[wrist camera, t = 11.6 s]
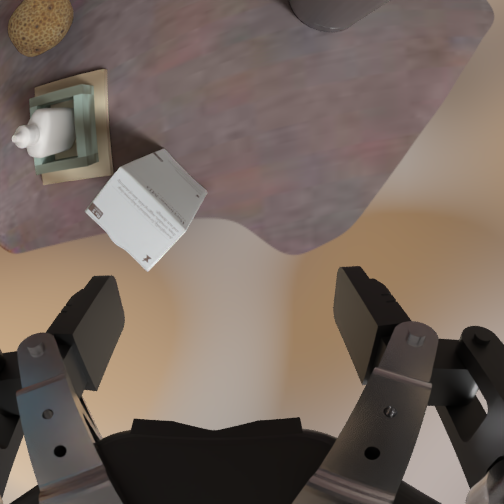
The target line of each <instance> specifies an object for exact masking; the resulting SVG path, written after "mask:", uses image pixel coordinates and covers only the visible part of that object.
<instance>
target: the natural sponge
mask: <svg viewBox="0 0 504 504" xmlns="http://www.w3.org/2000/svg"><path fill="white" fill-rule="evenodd" d="M72 21H73V8H72V6H71V3H70V1H69V0H24V1H23V2H22V3H21V4H20V5H19V6H18V7H17V9H16V10H15V11H14V13H13V14H12V16H11V18H10V20H9V24H8V34H9V37H10V39H11V41H12V43H13V44H14V46H15V47H16V49H17V50H18V51H19V52H20V53H21V54H23V55H25V56H28V57H33V56H37V55H40V54H42V53H44V52H45V51H47V50H49V49H51V48H53V47H54V46H56V45H57V44H58V43H59V42H60V41H61V40H62V39H63V38H64V36H65V35H66V33H67V32H68V30H69V28H70V26H71V24H72Z"/></svg>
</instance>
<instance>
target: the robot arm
mask: <svg viewBox="0 0 504 504" xmlns="http://www.w3.org/2000/svg"><path fill="white" fill-rule="evenodd" d="M389 1H390V0H289V2H290V5H291V8H292V10H293V12H294V14H295V15H296V16H297V17H298V18H299V19H300V20H301V21H302V22H303V23H305V24H306V25H308V26H310V27H311V28H314V29H316V30H319V31H324V32H338V31H342V30H345V29H347V28H349V27H350V26H352V25H353V24H355V23H356V22H358V21H359V20H361V19H362V18H364V17H365V16H367V15H368V14H370V13H371V12H373V11H375V10H376V9H378V8H379V7H381V6H382V5H384V4H386V3H387V2H389ZM333 308H334V318H335V322H336V324H337V326H338V329H339V331H340V333H341V336H342V338H343V340H344V342H345V345H346V347H347V350H348V352H349V354H350V356H351V359H352V361H353V364H354V366H355V369H356V371H357V373H358V376H359V378H360V381H361V383H362V385H366V384H367V385H366V387H365V388H364V390H363V392H362V394H361V396H360V398H359V400H358V402H357V404H356V406H355V408H354V410H353V411H352V413H351V415H350V417H349V419H348V421H347V422H346V425H345V426H344V428H343V429H342V431H341V433H340V435H339V436H338V438H335V437H333V436H331V435H328V434H325V433H322V432H318V431H314V430H309V429H302V426H301V421H300V418H299V417H298V418H287V419H276V420H260V421H255V422H251V423H247V424H243V425H239V426H234V427H230V428H226V429H221V430H207V429H203V428H198V427H194V426H190V425H185V424H182V423H178V422H174V421H159V420H144V419H134V420H133V424H132V428H131V430H129V431H123V432H119V433H116V434H112V435H110V436H107V437H105V438H102V436H101V434H100V433H99V431H98V428H97V426H96V424H95V422H94V420H93V418H92V416H91V414H90V411H89V409H88V407H87V405H86V403H85V400H84V398H83V397H82V393H83V391H84V390H92V391H97V390H98V387H99V385H100V382H101V380H102V377H103V375H104V372H105V370H106V367H107V365H108V363H109V360H110V358H111V355H112V353H113V351H114V348H115V346H116V344H117V342H118V339H119V337H120V335H121V332H122V330H123V327H124V321H125V319H124V318H125V317H124V311H123V307H122V303H121V299H120V296H119V291H118V287H117V283H116V279H115V278H114V276H94V277H92V279H91V280H90V281H89V282H88V284H87V285H86V287H85V288H84V289H81V290H80V291H79V292H77V293H76V294H74V295H73V296H72V297H71V298H70V300H69V301H68V302H67V304H66V306H64V308H63V309H62V311H61V313H59V315H58V316H57V317H56V319H55V320H54V322H53V323H52V324H51V326H50V327H49V329H48V330H47V332H46V333H37V334H34V335H31V336H29V337H27V338H26V339H25V340H24V341H22V342H21V344H20V345H19V347H18V349H17V351H15V352H8V353H2V352H1V350H0V504H3V501H2V497H3V493H4V490H5V487H6V483H7V480H8V477H9V474H10V471H11V468H12V465H13V462H14V459H15V457H16V454H17V451H18V449H19V446H20V443H21V440H22V438H23V435H24V437H25V441H26V445H27V448H28V453H29V456H30V460H31V463H32V467H33V469H34V473H35V476H36V479H37V482H38V485H37V486H35V487H34V488H32V489H31V490H29V491H28V492H26V493H25V494H24V495H22V496H21V497H19V498H17V499H16V500H15V501H13V502H12V503H10V504H441V503H439V502H438V501H436V500H434V499H432V498H431V497H429V496H427V495H425V494H424V493H422V492H420V491H419V490H417V489H415V488H414V487H412V486H410V485H409V484H407V483H406V482H404V481H402V479H403V476H404V474H405V471H406V468H407V466H408V463H409V460H410V458H411V455H412V452H413V449H414V446H415V443H416V440H417V437H418V434H419V431H420V428H421V425H422V421H423V418H424V415H425V411H426V408H427V406H435V407H436V410H437V412H438V414H439V416H440V418H441V420H442V422H443V424H444V427H445V429H446V431H447V434H448V436H449V438H450V440H451V443H452V445H453V447H454V450H455V452H456V454H457V457H458V459H459V461H460V464H461V467H462V469H463V472H464V474H465V477H466V479H467V482H468V485H469V487H470V491H469V493H468V495H467V498H466V504H504V345H503V343H502V342H501V341H500V340H499V338H498V337H497V336H496V335H495V334H494V333H493V332H492V331H490V330H488V329H486V328H483V327H480V326H470V327H467V328H465V329H464V330H463V332H462V334H461V337H460V339H459V340H449V339H438V335H437V333H436V332H435V331H434V330H433V329H432V328H431V327H429V326H427V325H425V324H423V323H420V322H413V321H411V320H410V318H409V317H408V316H407V314H406V313H405V312H404V310H403V309H402V307H401V306H400V305H399V304H398V302H396V300H395V298H394V297H393V296H392V295H391V293H390V292H389V290H388V289H387V288H386V286H385V285H383V284H382V283H380V282H379V281H377V280H376V279H369V277H368V276H367V275H366V273H365V272H364V271H363V269H362V268H361V267H360V266H352V267H340V268H339V269H338V272H337V280H336V289H335V298H334V307H333ZM478 389H480V391H481V393H482V394H483V396H484V398H485V399H486V401H487V405H488V413H487V414H486V412H485V410H484V409H483V407H482V405H481V403H480V402H479V400H478V398H477V397H476V393H477V391H478Z"/></svg>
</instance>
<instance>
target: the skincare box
mask: <svg viewBox="0 0 504 504" xmlns="http://www.w3.org/2000/svg"><path fill="white" fill-rule="evenodd" d="M206 194H207V190H206V189H205V188H203V187H202V186H201V185H200V184H199V183H198V182H196V181H195V180H194V179H193V178H192V177H191V176H190V175H189V174H188V173H187V172H186V171H185V170H184V169H183V168H182V167H181V166H180V165H179V164H178V163H177V162H176V161H175V160H174V159H173V158H172V156H171V155H170V154H169V153H168V152H167V151H166V150H165V149H161V150H159V151H156V152H153V153H151V154H149V155H146V156H144V157H141V158H139V159H137V160H134V161H132V162H130V163H127V164H125V165H123V166H121V167H119V169H118V170H117V171H116V172H115V173H114V175H113V176H112V177H111V178H110V180H109V181H108V182H107V183H106V185H105V186H104V187H103V188H102V190H101V191H100V192H99V193H98V195H97V196H96V197H95V199H94V200H93V201H92V202H91V204H90V205H89V206H88V208H87V209H86V210H85V212H86V213H87V214H88V215H89V216H90V217H91V218H92V219H93V220H94V221H95V222H96V223H97V224H98V225H99V226H100V227H101V228H102V229H103V230H104V231H105V232H107V234H108V235H109V237H110V238H111V240H112V241H113V242H114V243H115V244H116V245H117V246H119V247H121V248H123V249H124V250H126V251H127V252H128V253H129V254H130V255H131V256H132V257H133V258H134V259H135V260H136V261H137V262H138V263H139V264H140V265H141V266H142V267H143V268H144V269H145V270H146V271H149V270H150V269H151V268H152V267H153V266H154V265H155V264H156V263H157V262H158V261H159V260H160V259H161V258H162V257H163V255H164V254H165V253H166V252H167V251H168V250H169V249H170V248H171V247H172V246H173V245H174V244H175V243H176V242H177V240H178V239H179V238H180V237H181V236H182V235H183V234H184V233H185V232H186V230H187V228H188V227H189V225H190V223H191V221H192V220H193V218H194V216H195V214H196V212H197V210H198V209H199V207H200V205H201V203H202V202H203V200H204V198H205V196H206Z"/></svg>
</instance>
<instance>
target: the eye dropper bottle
mask: <svg viewBox="0 0 504 504" xmlns="http://www.w3.org/2000/svg"><path fill="white" fill-rule="evenodd" d="M75 139H76V131H75V118H74V108H67V107H62V108H43V109H38V110H36V111H35V112H34V113H33V115H32V116H31V118H30V120H29V122H28V125H22V126H20V127H18V128H17V130H16V131H15V134H14V135H13V136H12V141H13V142H15V144H16V146H18V147H19V148H27V151H28V154H29V155H30V156H31V157H36V158H43V157H46V156H50V155H53V154H57V153H60V152H63V151H67V150H69V149H70V148H71V147H72V145H73V144H74V141H75Z"/></svg>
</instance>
